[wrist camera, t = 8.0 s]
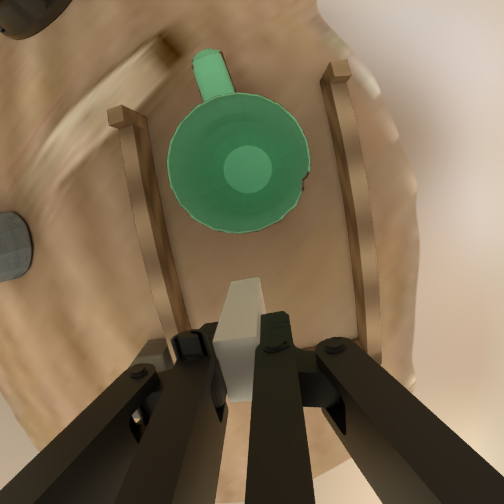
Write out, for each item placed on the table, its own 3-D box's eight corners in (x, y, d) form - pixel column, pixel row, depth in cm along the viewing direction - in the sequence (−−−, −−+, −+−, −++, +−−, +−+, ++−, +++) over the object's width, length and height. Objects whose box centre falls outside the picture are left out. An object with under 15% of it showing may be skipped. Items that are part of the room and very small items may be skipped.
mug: (311, 203, 31) (329, 210, 21) (215, 232, 32) (191, 252, 22) (265, 66, 28) (262, 20, 19) (173, 97, 30) (135, 65, 20)
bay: (98, 132, 30) (41, 119, 20) (333, 80, 28) (360, 39, 18) (158, 376, 36) (129, 430, 26) (371, 346, 34) (401, 399, 24)
